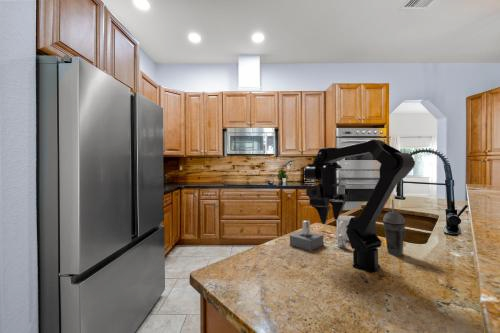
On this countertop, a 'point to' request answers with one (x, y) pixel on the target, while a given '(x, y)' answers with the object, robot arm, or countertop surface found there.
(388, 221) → the beverage cup
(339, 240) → the short pin
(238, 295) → the countertop surface
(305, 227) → the long pin
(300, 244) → the hole block
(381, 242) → the robot arm
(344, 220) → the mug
